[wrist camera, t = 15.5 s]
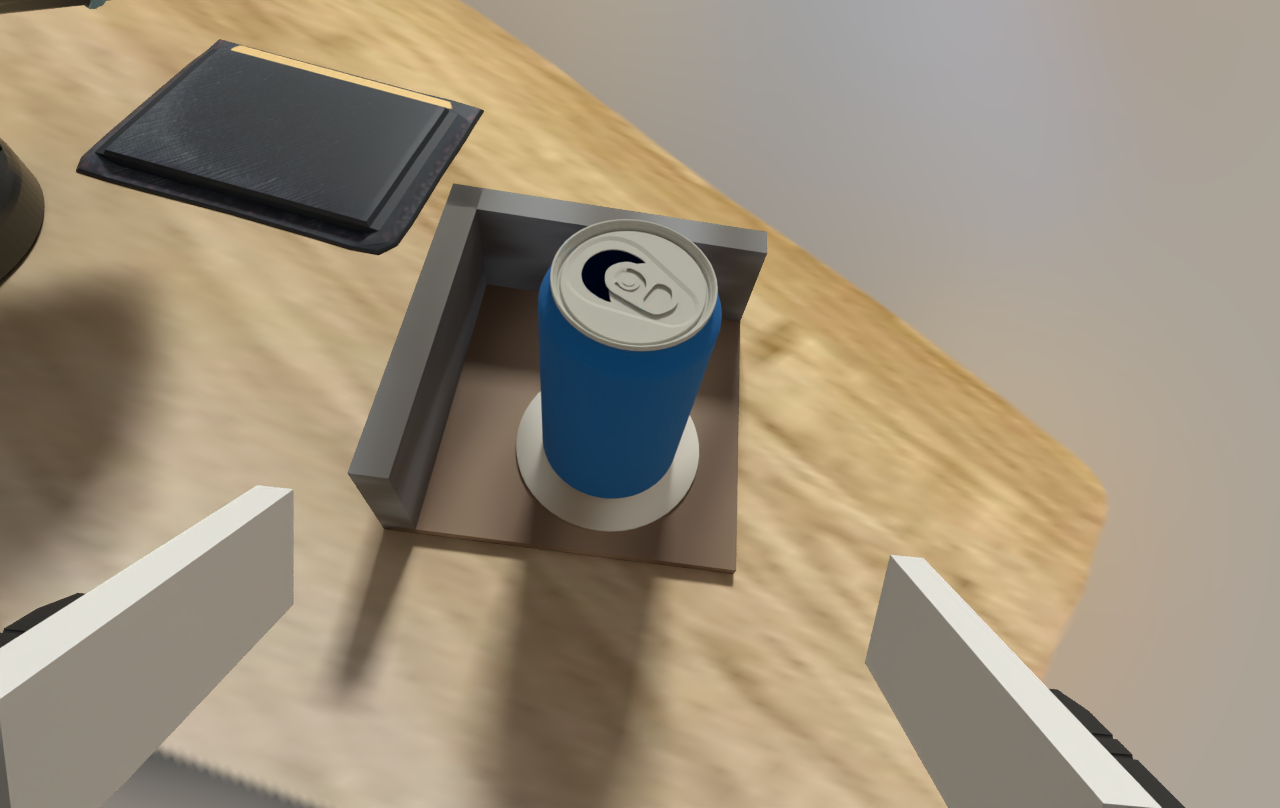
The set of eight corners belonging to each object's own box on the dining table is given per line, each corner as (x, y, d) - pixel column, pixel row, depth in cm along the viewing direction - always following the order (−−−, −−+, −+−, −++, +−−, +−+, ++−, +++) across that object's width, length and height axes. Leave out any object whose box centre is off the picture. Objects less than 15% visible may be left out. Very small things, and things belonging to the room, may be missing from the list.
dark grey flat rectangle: (50, 150, 37) (216, 17, 44) (72, 177, 38) (228, 44, 46) (378, 250, 36) (488, 96, 43) (386, 273, 37) (491, 121, 45)
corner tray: (384, 529, 29) (347, 473, 24) (467, 266, 37) (453, 183, 32) (733, 573, 30) (770, 528, 25) (738, 306, 38) (766, 231, 33)
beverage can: (591, 367, 34) (608, 184, 24) (697, 430, 33) (762, 266, 22) (515, 457, 31) (495, 292, 20) (628, 531, 29) (668, 394, 19)
